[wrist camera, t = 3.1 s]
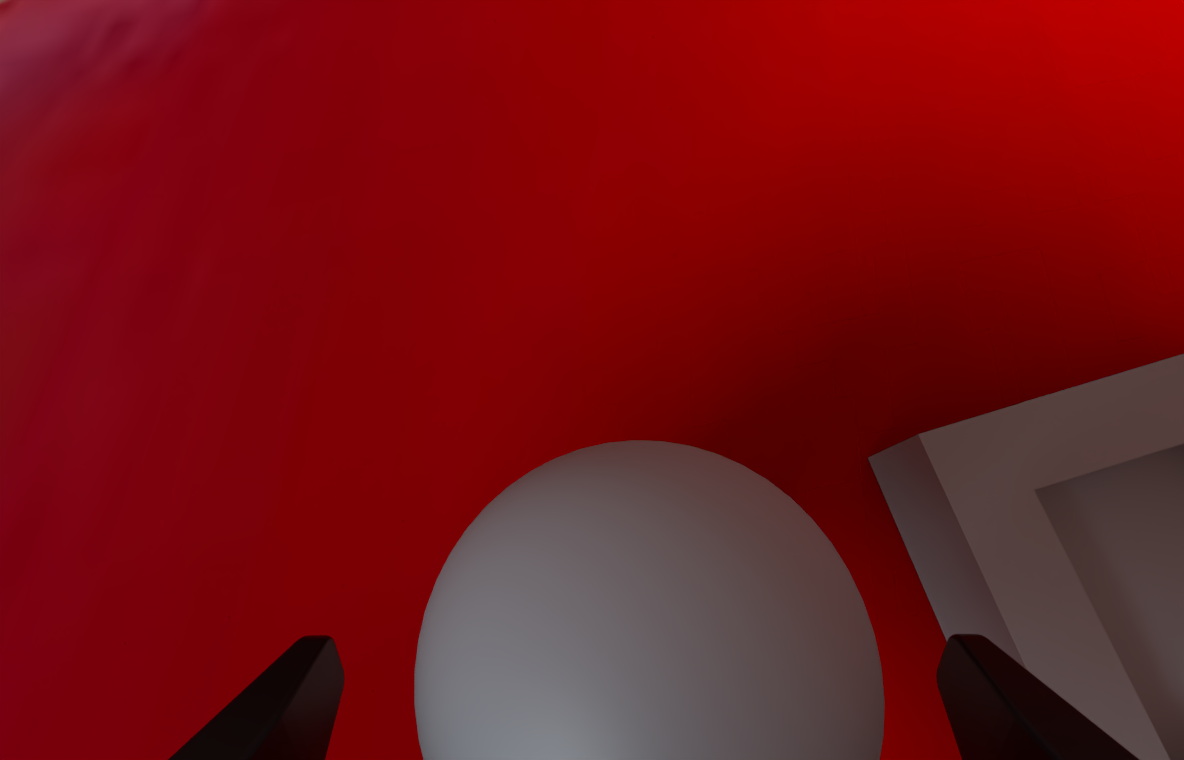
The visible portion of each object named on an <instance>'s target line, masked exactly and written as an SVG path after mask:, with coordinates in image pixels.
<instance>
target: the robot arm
mask: <svg viewBox="0 0 1184 760" xmlns="http://www.w3.org/2000/svg"><path fill="white" fill-rule="evenodd" d="M937 684H938V688H939V691H940V694H941V697H942V700H943V703H944V706H945V709H946V712H947V715H948V718H949V721H950V724H951V727H952V730H953V733H954V736H955V739H956V742H957V745H958V748H959V751H960V754H961V757H962V760H1140V759H1138V758H1137V757H1136V756H1135V755H1133V754H1132V753H1131V752H1130V751H1128V750H1127V749H1126V748H1124V747H1123V746H1122V745H1121V744H1119V743H1118V742H1117V741H1116V740H1114V739H1113V738H1112V737H1111V736H1109V735H1108V734H1107V733H1106V732H1104V731H1103V730H1102V729H1101V728H1099V727H1098V726H1097V725H1096V724H1094V723H1093V722H1092V721H1091V720H1089V719H1088V718H1087V717H1086V716H1084V715H1083V714H1082V713H1081V712H1079V711H1078V710H1077V709H1076V708H1074V707H1073V706H1072V705H1071V704H1069V703H1068V702H1067V701H1066V700H1064V699H1063V698H1062V697H1061V696H1059V695H1058V694H1057V693H1056V692H1054V691H1053V690H1052V689H1051V688H1049V687H1048V686H1047V685H1046V684H1044V683H1043V682H1042V681H1041V680H1039V679H1038V678H1037V677H1036V676H1034V675H1033V674H1032V673H1031V672H1029V671H1028V670H1027V669H1025V668H1024V667H1023V666H1022V665H1020V664H1019V663H1018V662H1017V661H1015V660H1014V659H1013V658H1012V657H1010V656H1009V655H1008V654H1007V653H1005V652H1004V651H1003V650H1002V649H1000V648H999V647H998V646H997V645H995V644H994V643H993V642H992V641H990V640H989V639H988V638H986V637H984V636H982V635H980V634H953V635H952V636H950V637H949V638H948V640H947V643H946V646H945V649H944V652H943V655H942V658H941V660H940V663H939V666H938V669H937ZM343 686H344V670H343V667H342V664H341V661H340V658H339V655H338V651H337V648H336V645H335V642H334V640H333V639H332V638H331V637H330V636H327V635H309V636H304V637H302V638H300V639H299V640H297V641H296V642H295V643H294V644H293V645H292V646H291V647H290V648H289V649H287V650H286V651H285V652H284V653H283V654H282V655H281V656H280V657H279V658H278V659H277V660H276V661H274V662H273V663H272V664H271V665H270V666H269V667H268V668H267V669H266V670H265V671H264V672H263V673H261V674H260V675H259V676H258V677H257V678H256V679H255V680H254V681H253V682H252V683H251V684H250V685H248V686H247V687H246V688H245V689H244V690H243V691H242V692H241V693H240V694H239V695H238V696H237V697H235V698H234V699H233V700H232V701H231V702H230V703H229V704H228V705H227V706H226V707H225V708H224V709H222V710H221V711H220V712H219V713H218V714H217V715H216V716H215V717H214V718H213V719H212V720H211V721H209V722H208V723H207V724H206V725H205V726H204V727H203V728H202V729H201V730H200V731H199V732H198V733H196V734H195V735H194V736H193V737H192V738H191V739H190V740H189V741H188V742H187V743H186V744H185V745H183V746H182V747H181V748H180V749H179V750H178V751H177V752H176V753H175V754H174V755H173V756H172V757H170V758H169V759H168V760H325V757H326V753H327V750H328V746H329V742H330V738H331V734H332V730H333V726H334V722H335V718H336V714H337V710H338V706H339V703H340V699H341V695H342V691H343Z"/></svg>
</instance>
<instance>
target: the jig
mask: <svg viewBox="0 0 1184 760" xmlns="http://www.w3.org/2000/svg"><path fill="white" fill-rule="evenodd" d="M868 460H869V462H870V464H871V467H872V469H873V471H874V474H875V476H876V478H877V481H878V483H879V485H880V488H881V490H882V492H883V495H884V497H885V499H886V502H887V504H888V506H889V508H890V511H891V513H892V515H893V518H894V520H895V522H896V525H897V527H898V529H899V532H900V534H901V536H902V539H903V541H904V543H905V546H906V548H907V550H908V553H909V555H910V557H911V560H912V562H913V564H914V566H915V569H916V571H917V573H918V576H919V578H920V580H921V583H922V585H923V587H924V590H925V592H926V594H927V597H928V599H929V601H930V604H931V606H932V608H933V611H934V613H935V615H936V618H937V620H938V622H939V624H940V627H941V629H942V631H943V634H944V636H945V638H946V641H947V640H948V638H949V637H950V636H952V635H953V634H980V635H982V636H984V637H986V638H988V639H989V640H990V641H992V642H993V643H994V644H995V645H997V646H998V647H999V648H1000V649H1002V650H1003V651H1004V652H1005V653H1007V654H1008V655H1009V656H1010V657H1012V658H1013V659H1014V660H1015V661H1017V662H1018V663H1019V664H1020V665H1022V666H1023V667H1024V668H1025V669H1027V670H1028V671H1029V672H1031V673H1032V674H1033V675H1034V676H1036V677H1037V678H1038V679H1039V680H1041V681H1042V682H1043V683H1044V684H1046V685H1047V686H1048V687H1049V688H1051V689H1052V690H1053V691H1054V692H1056V693H1057V694H1058V695H1059V696H1061V697H1062V698H1063V699H1064V700H1066V701H1067V702H1068V703H1069V704H1071V705H1072V706H1073V707H1074V708H1076V709H1077V710H1078V711H1079V712H1081V713H1082V714H1083V715H1084V716H1086V717H1087V718H1088V719H1089V720H1091V721H1092V722H1093V723H1094V724H1096V725H1097V726H1098V727H1099V728H1101V729H1102V730H1103V731H1104V732H1106V733H1107V734H1108V735H1109V736H1111V737H1112V738H1113V739H1114V740H1116V741H1117V742H1118V743H1119V744H1121V745H1122V746H1123V747H1124V748H1126V749H1127V750H1128V751H1130V752H1131V753H1132V754H1133V755H1135V756H1136V757H1137V758H1138V759H1140V760H1184V354H1181V355H1178V356H1174V357H1171V358H1168V359H1164V360H1161V361H1158V362H1155V363H1151V364H1148V365H1145V366H1141V367H1138V368H1135V369H1131V370H1128V371H1125V372H1122V373H1118V374H1115V375H1112V376H1108V377H1105V378H1102V379H1098V380H1095V381H1092V382H1089V383H1085V384H1082V385H1079V386H1075V387H1072V388H1069V389H1065V390H1062V391H1059V392H1056V393H1052V394H1049V395H1046V396H1042V397H1039V398H1036V399H1033V400H1029V401H1026V402H1023V403H1019V404H1016V405H1013V406H1009V407H1006V408H1003V409H1000V410H996V411H993V412H990V413H986V414H983V415H980V416H976V417H973V418H970V419H967V420H963V421H960V422H957V423H953V424H950V425H947V426H943V427H940V428H937V429H934V430H930V431H927V432H924V433H920V434H917V435H915V436H913V437H911V438H909V439H907V440H905V441H902V442H900V443H898V444H896V445H894V446H892V447H889V448H887V449H885V450H883V451H881V452H879V453H877V454H874V455H872V456H870V457H868Z"/></svg>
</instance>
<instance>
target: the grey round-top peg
mask: <svg viewBox="0 0 1184 760" xmlns="http://www.w3.org/2000/svg"><path fill="white" fill-rule="evenodd" d="M415 713H416V721H417V729H418V737H419V743H420V747H421V751H422V755H423V759H424V760H880V754H881V747H882V741H883V730H884V691H883V679H882V668H881V663H880V658H879V653H878V649H877V644H876V639H875V635H874V632H873V629H872V626H871V623H870V620H869V617H868V614H867V611H866V608H865V605H864V602H863V600H862V598H861V596H860V593H859V591H858V589H857V587H856V585H855V583H854V581H853V578H852V576H851V574H850V572H849V570H848V569H847V567H846V565H845V564H844V562H843V560H842V559H841V557H840V556H839V554H838V552H837V551H836V549H835V548H834V546H833V544H832V543H831V542H830V540H829V539H828V538H827V537H826V535H825V534H824V533H823V532H822V530H821V529H820V528H819V527H818V525H817V524H816V523H815V522H814V520H813V519H812V518H811V517H810V516H809V515H808V514H807V513H806V512H805V511H804V510H803V509H802V508H801V507H800V506H799V505H798V504H797V503H796V502H794V501H793V500H792V499H791V498H790V497H789V496H788V495H786V494H785V493H784V492H782V491H781V490H780V489H779V488H777V487H776V486H775V485H773V484H772V483H771V482H770V481H768V480H767V479H765V478H763V477H762V476H760V475H758V474H757V473H755V472H753V471H752V470H750V469H748V468H747V467H745V466H743V465H741V464H739V463H737V462H734V461H732V460H730V459H727V458H725V457H723V456H721V455H718V454H716V453H712V452H709V451H706V450H702V449H699V448H696V447H692V446H688V445H682V444H676V443H670V442H664V441H640V440H633V441H622V442H612V443H605V444H600V445H596V446H592V447H587V448H583V449H579V450H577V451H574V452H571V453H568V454H566V455H563V456H560V457H558V458H555V459H553V460H551V461H549V462H547V463H545V464H543V465H541V466H540V467H538V468H536V469H534V470H532V471H530V472H529V473H527V474H526V475H524V476H523V477H521V478H520V479H519V480H517V481H516V482H514V483H513V484H511V485H510V486H508V487H507V488H506V489H505V490H504V491H503V492H502V493H500V494H499V495H498V496H497V497H496V498H495V499H494V500H493V501H492V502H490V503H489V504H488V505H487V506H486V507H485V508H484V509H483V511H482V512H481V513H480V514H479V515H478V516H477V517H476V519H475V520H474V521H473V522H472V523H471V524H470V526H469V527H468V528H467V529H466V531H465V532H464V534H463V535H462V537H461V538H460V540H459V541H458V543H457V544H456V545H455V547H454V548H453V550H452V551H451V553H450V555H449V557H448V559H447V561H446V563H445V565H444V567H443V569H442V570H441V572H440V574H439V576H438V578H437V580H436V583H435V586H434V588H433V591H432V594H431V597H430V599H429V602H428V605H427V608H426V611H425V615H424V619H423V623H422V627H421V632H420V636H419V640H418V648H417V657H416V665H415Z"/></svg>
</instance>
